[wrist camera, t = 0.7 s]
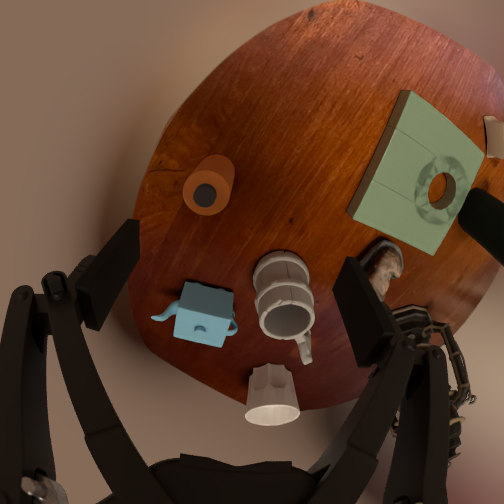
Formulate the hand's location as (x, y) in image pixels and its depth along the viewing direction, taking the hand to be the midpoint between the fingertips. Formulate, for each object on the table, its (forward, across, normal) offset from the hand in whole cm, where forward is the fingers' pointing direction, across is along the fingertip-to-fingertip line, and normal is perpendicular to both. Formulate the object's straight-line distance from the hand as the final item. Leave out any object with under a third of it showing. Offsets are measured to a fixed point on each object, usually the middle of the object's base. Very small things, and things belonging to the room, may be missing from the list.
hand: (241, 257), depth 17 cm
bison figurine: (+18, +20, -10) cm, 28 cm away
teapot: (+18, -3, -19) cm, 26 cm away
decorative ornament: (+18, +35, +18) cm, 43 cm away
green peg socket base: (+17, +23, +6) cm, 29 cm away
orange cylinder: (+17, -4, 0) cm, 18 cm away
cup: (+18, +12, -38) cm, 43 cm away
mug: (+18, +8, -14) cm, 24 cm away
